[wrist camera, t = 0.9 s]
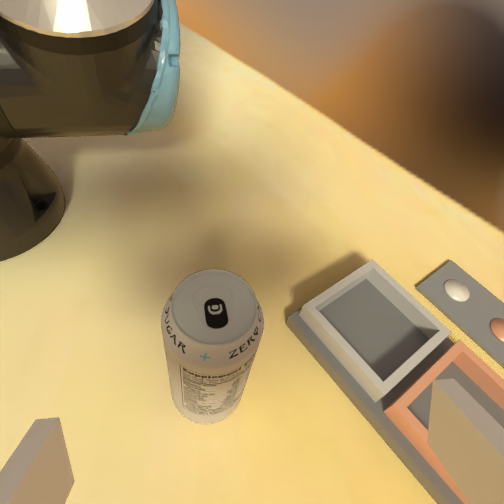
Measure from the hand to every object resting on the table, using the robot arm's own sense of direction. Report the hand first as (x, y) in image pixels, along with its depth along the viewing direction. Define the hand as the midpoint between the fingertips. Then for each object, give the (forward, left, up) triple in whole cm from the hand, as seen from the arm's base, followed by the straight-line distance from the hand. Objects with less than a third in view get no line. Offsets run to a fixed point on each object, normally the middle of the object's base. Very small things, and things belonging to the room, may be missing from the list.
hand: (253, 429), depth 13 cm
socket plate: (+3, +19, -19) cm, 27 cm away
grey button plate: (+3, +32, -19) cm, 37 cm away
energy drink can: (-7, +3, -19) cm, 21 cm away
